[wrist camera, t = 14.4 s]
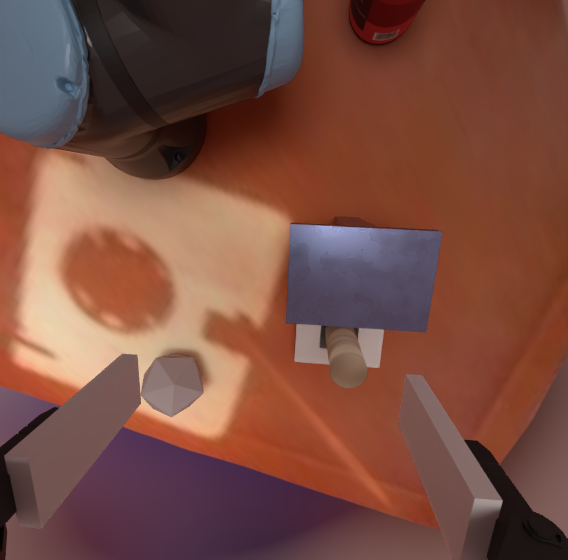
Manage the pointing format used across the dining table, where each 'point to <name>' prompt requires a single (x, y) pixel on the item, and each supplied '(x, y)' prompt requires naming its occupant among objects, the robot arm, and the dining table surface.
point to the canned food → (382, 18)
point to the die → (172, 384)
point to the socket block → (315, 348)
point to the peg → (345, 357)
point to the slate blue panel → (361, 275)
